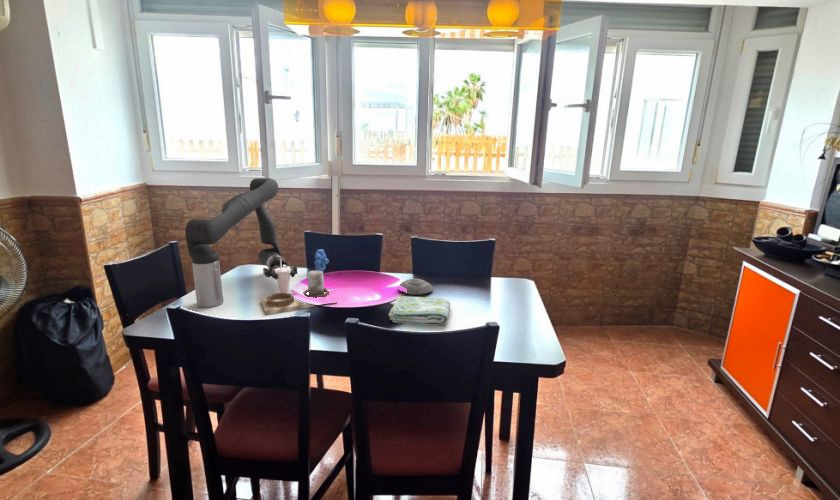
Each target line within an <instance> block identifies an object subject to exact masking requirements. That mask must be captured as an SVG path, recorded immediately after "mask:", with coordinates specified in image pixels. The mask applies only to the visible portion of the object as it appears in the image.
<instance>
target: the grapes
mask: <svg viewBox="0 0 840 500" xmlns="http://www.w3.org/2000/svg"><path fill="white" fill-rule="evenodd" d="M314 258H315V260H314V261H313V263H314V264H313V265H315V267H314V268H315V271H322V272H323V273H324V271H325V269H326V268H327V267H326V265H328V263H330V260H329V259H328V258H327V255H326V252H325V250H324V249H323V248H320V249H319V248H318V249H316V251H315V254H314Z"/></svg>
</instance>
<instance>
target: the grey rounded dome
mask: <svg viewBox="0 0 840 500" xmlns="http://www.w3.org/2000/svg"><path fill="white" fill-rule="evenodd" d="M399 285H400V286H402V287H404V288H406V289H407V293H405V294H408V295H412V296H413V295H415V296H417V295H419V296H420V295H425V294H429V293H430V292H432V291H433V286H432V284H431V283H429V282H428V281H426V280H424V279H421V278H410V279H406V280H404V281H402V282H401V283H400V284H399Z"/></svg>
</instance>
